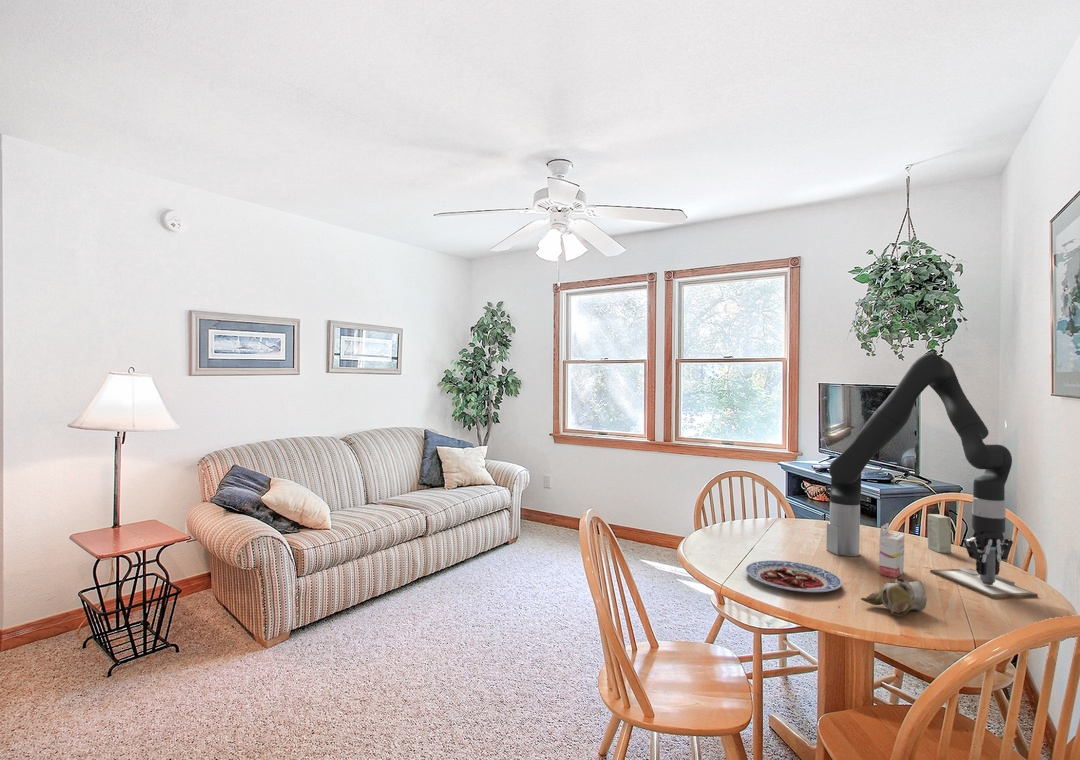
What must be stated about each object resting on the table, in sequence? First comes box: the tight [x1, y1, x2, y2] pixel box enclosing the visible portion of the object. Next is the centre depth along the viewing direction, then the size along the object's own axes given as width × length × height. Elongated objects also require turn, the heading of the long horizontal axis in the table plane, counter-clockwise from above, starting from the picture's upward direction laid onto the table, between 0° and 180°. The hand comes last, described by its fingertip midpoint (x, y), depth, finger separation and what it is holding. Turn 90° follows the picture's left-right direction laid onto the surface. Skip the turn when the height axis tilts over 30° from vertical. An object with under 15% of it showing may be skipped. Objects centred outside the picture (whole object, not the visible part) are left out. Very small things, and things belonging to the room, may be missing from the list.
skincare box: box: [927, 513, 952, 554], centre depth 198 cm, size 6×4×12 cm
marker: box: [980, 547, 996, 585], centre depth 161 cm, size 4×4×11 cm
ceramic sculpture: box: [860, 577, 928, 617], centre depth 144 cm, size 11×9×15 cm
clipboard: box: [929, 568, 1039, 599], centre depth 165 cm, size 14×21×2 cm, turn 7°
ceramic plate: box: [745, 560, 843, 593], centre depth 165 cm, size 26×26×3 cm
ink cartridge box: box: [878, 522, 906, 579], centre depth 173 cm, size 9×5×15 cm, turn 134°
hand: (987, 573), depth 161 cm, fingers closed on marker, 3 cm apart
